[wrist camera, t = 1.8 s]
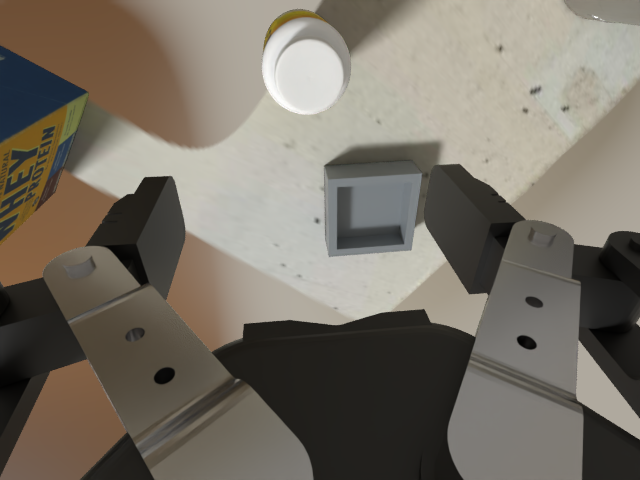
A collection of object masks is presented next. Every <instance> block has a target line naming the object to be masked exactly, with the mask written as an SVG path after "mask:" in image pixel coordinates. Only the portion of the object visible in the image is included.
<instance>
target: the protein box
mask: <svg viewBox="0 0 640 480" xmlns="http://www.w3.org/2000/svg"><path fill="white" fill-rule="evenodd" d="M88 96H89V93H88V92H87V91H85V90H84V89H82V88H80V87H78V86H76V85H74V84H72V83H70V82H68V81H66V80H64V79H62V78H61V77H59V76H57V75H55V74H53V73H51V72H49V71H47V70H45V69H44V68H42V67H40V66H38V65H36V64H34V63H32V62H30V61H29V60H27V59H25V58H23V57H21V56H19V55H17V54H15V53H13V52H11V51H10V50H8V49H6V48H4V47H2V46H0V245H1V244H2V243H3V242H4V241H5V240H6V239H7V238H8V237H9V236H10V235H11V234H12V233H13V232H14V231H15V230H17V228H19V226H21V225H22V224H23V223H24V222H25V221H26V220H27V219H28V218H29V217H30V216H31V215H32V214H33V213H34V212H35V211H36V210H37V209H38V208H39V207H40V206H41V205H42V204H44V202H46V201H47V200H48V199H49V198H50V197H51V196H52V195H53V194H54V193H55V191H56V188H57V185H58V182H59V179H60V176H61V173H62V171H63V168H64V165H65V162H66V160H67V157H68V154H69V151H70V148H71V146H72V143H73V140H74V137H75V134H76V131H77V128H78V125H79V122H80V120H81V117H82V114H83V111H84V108H85V105H86V102H87V99H88Z"/></svg>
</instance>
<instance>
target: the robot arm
mask: <svg viewBox="0 0 640 480" xmlns="http://www.w3.org/2000/svg"><path fill="white" fill-rule="evenodd" d="M564 2H565V3H566V5H567V6H568V8H569V9H570V10H571V11H573V12H574V13H575V14H576V15H578V16H580V17H583V18H585V19H592V20H597V21H603V22H609V23H623V24H630V25H638V26H640V0H564ZM424 219H425V224H426V227H427V229H428V230H429V232H430V233H431V235H432V236H433V238H434V240H435V241H436V243H437V244H438V246H439V248H440V249H441V251H442V252H443V254H444V255H445V257H446V259H447V260H448V262H449V263H450V265H451V266H452V268H453V269H454V271H455V273H456V274H457V276H458V277H459V279H460V281H461V282H462V284H463V285H464V287H465V288H466V290H467V292H468V293H469V294H479V293H487V294H488V295H489V296H488V298H487V301H486V304H485V307H484V310H483V313H482V316H481V319H480V322H479V325H478V328H477V331H476V334H475V337H474V336H472V335H470V334H468V333H466V332H463V331H461V330H458V329H456V328H452V327H449V326H446V325H441V324H436V323H431V322H430V320H429V318H428V316H427V314H426V312H425V310H424V309H422V310H409V311H397V312H385V313H379V314H376V315H372V316H369V317H366V318H362V319H359V320H356V321H352V322H349V323H346V324H343V325H327V324H318V323H310V322H301V321H293V320H287V321H273V322H262V323H249V324H244V330H243V338H242V339H239V340H236V341H233V342H231V343H228V344H226V345H224V346H222V347H220V348H218V349H216V350H214V351H213V352H211V351H210V350H209V349H208V348H207V347H206V346H205V345H204V344H203V342H202V341H201V340H200V339H199V338H198V337H197V336H196V335H195V333H194V332H193V331H192V330H191V329H190V328H189V327H188V326H187V325H186V323H185V322H184V321H183V320H182V319H181V318H180V316H179V315H178V314H177V313H176V312H175V311H174V310H173V309H172V307H171V306H170V305H169V304H168V303H167V302H166V299H167V295H168V292H169V289H170V286H171V283H172V279H173V276H174V273H175V270H176V267H177V264H178V260H179V257H180V254H181V251H182V248H183V244H184V241H185V223H184V218H183V214H182V210H181V206H180V201H179V197H178V193H177V189H176V185H175V181H174V179H173V177H171V176H162V177H145V178H144V179H143V180H142V182H141V183H140V185H139V187H138V188H137V190H136V192H135V193H134V194H127V195H126V196H124V197H123V198H121V199H120V200H118V201H117V202H116V203H114V205H113V206H112V207H111V209H110V211H109V212H108V215H106V216H105V218H104V219H103V221H102V224H100V225H99V227H98V228H97V230H96V231H95V233H94V234H93V236H92V237H91V239H90V240H89V242H88V243H87V245H86V246H85V247H81V248H76V249H73V250H70V251H68V252H65V253H63V254H61V255H59V256H58V257H56V258H54V259H53V260H52V261H51V262H49V263H48V264H47V265H46V267H45V268H44V270H43V277H42V278H39V279H35V280H31V281H27V282H23V283H19V284H15V285H11V286H7V287H3V285H2V284H1V282H0V476H1V474H2V472H3V470H4V468H5V465H6V463H7V461H8V459H9V457H10V455H11V453H12V451H13V449H14V447H15V444H16V442H17V440H18V438H19V436H20V434H21V432H22V430H23V427H24V425H25V423H26V421H27V419H28V417H29V415H30V413H31V411H32V409H33V407H34V405H35V402H36V400H37V398H38V396H39V394H40V392H41V390H42V388H43V385H44V383H45V381H46V379H47V377H48V375H49V373H50V371H52V370H55V369H58V368H61V367H64V366H67V365H70V364H73V363H76V362H79V361H82V360H86V359H87V360H88V362H89V364H90V366H91V367H92V369H93V371H94V373H95V375H96V377H97V378H98V380H99V382H100V384H101V386H102V388H103V389H104V391H105V393H106V395H107V397H108V399H109V400H110V402H111V404H112V406H113V408H114V410H115V411H116V413H117V415H118V417H119V419H120V421H121V422H122V424H123V426H124V428H125V430H126V432H127V433H126V434H125V435H124V436H123V437H122V438H121V439H120V440H119V441H118V442H117V443H116V444H115V445H114V446H113V447H112V448H111V449H110V450H109V451H108V452H107V453H106V454H105V455H104V456H103V457H102V458H101V459H100V460H99V461H98V462H97V463H96V464H95V465H94V466H93V467H92V468H91V469H90V470H89V471H88V472H87V473H86V474H85V475H84V476H83V477H82V478H81V479H80V480H640V440H639V439H638V438H636V437H634V436H633V435H631V434H629V433H628V432H626V431H625V430H623V429H622V428H620V427H618V426H617V425H615V424H614V423H612V422H611V421H609V420H607V419H606V418H604V417H602V416H601V415H599V414H597V413H596V412H595V411H593V410H591V409H590V408H588V407H587V406H585V405H583V404H582V403H580V402H579V401H577V399H576V381H577V359H578V339H579V341H580V342H581V343H582V345H583V346H584V347H585V348H586V350H587V351H588V352H589V354H590V355H591V356H592V357H593V359H594V360H595V361H596V363H597V364H598V365H599V366H600V368H601V369H602V370H603V372H604V373H605V374H606V375H607V377H608V378H609V379H610V381H611V382H612V383H613V384H614V386H615V387H616V388H617V390H618V391H619V392H620V393H621V395H622V396H623V397H624V399H625V400H626V401H627V402H628V404H629V405H630V406H631V407H632V409H633V410H634V411H635V413H636V414H637V415H638V416H639V418H640V327H639V326H638V325H637V324H636V322H637V321H638V319H639V318H640V233H636V232H629V231H618V232H614V233H611V234H610V235H609V237H608V239H607V241H606V243H605V245H604V246H603V248H599V247H591V246H584V245H576V244H574V240H573V238H572V237H571V235H569V233H567V232H566V231H565V230H563V229H561V228H559V227H557V226H555V225H553V224H549V223H546V222H542V221H536V220H526V219H525V218H524V217H523V216H521V215H520V214H519V213H518V212H517V211H516V210H515V209H514V208H513V207H512V206H511V205H510V204H509V203H506V200H505V199H503V198H502V197H501V196H499V195H498V193H497V192H496V191H495V190H494V189H493V188H492V187H491V186H490V185H488V184H486V183H484V182H482V181H480V180H478V179H476V178H474V177H473V176H472V175H471V174H470V173H469V172H467V171H466V170H465V169H464V168H463V167H462V166H461V165H460V164H450V165H435V166H434V167H433V169H432V172H431V176H430V182H429V187H428V192H427V198H426V203H425V209H424Z"/></svg>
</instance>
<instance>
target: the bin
mask: <svg viewBox="0 0 640 480" xmlns="http://www.w3.org/2000/svg"><path fill="white" fill-rule="evenodd" d="M421 179H422V172H421V171H420V170H419V169H418V167H417V166H416V165H415V163H414V162H413V161H412V160H408V161H392V162H376V163H359V164H343V165H327V166H324V186H325V241H326V246H327V250H328V255H329V257H332V256H345V255H358V254H370V253H383V252H395V251H408V250H411V249H412V242H413V235H414V228H415V221H416V214H417V207H418V200H419V193H420V186H421Z"/></svg>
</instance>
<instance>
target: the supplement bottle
mask: <svg viewBox="0 0 640 480" xmlns="http://www.w3.org/2000/svg"><path fill="white" fill-rule="evenodd" d="M262 74H263V79H264V82H265V85H266V87H267V89H268V91H269V93H270V94H271V96H272V97H273V98H274V100H275V101H276V102H277V103H278V104H280V105H281V106H282V107H284V108H285V109H287V110H289V111H291V112H294V113H298V114H305V115H308V114H316V113H320V112H323V111H325V110H327V109H328V108H330V107H331V106H333V105H334V104H335V103H336V102H337V101H338V100H339V99H340V98H341V96H342V95H343V93H344V92H345V90H346V88H347V86H348V83H349V80H350V75H351V58H350V53H349V50H348V47H347V45H346V43H345V41H344V39H343V38H342V36H341V35H340V34H339V32H338V31H337V30H336V29H335V28H333V27H332V26H331V25H330V24H329V23H328V22H326V21H325V20H324V19H323V18H321V17H320V16H319V15H317V14H316V13H314V12H311V11H309V10H303V9H296V10H290V11H287V12H285V13H283V14H282V15H280V16H279V17H278V18H276V19H275V20H274V22H273V23H272V24H271V26H270V27H269V29H268V31H267V34H266V37H265V41H264V48H263V56H262Z"/></svg>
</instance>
